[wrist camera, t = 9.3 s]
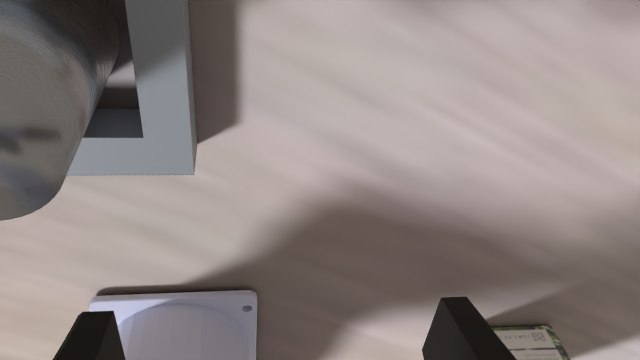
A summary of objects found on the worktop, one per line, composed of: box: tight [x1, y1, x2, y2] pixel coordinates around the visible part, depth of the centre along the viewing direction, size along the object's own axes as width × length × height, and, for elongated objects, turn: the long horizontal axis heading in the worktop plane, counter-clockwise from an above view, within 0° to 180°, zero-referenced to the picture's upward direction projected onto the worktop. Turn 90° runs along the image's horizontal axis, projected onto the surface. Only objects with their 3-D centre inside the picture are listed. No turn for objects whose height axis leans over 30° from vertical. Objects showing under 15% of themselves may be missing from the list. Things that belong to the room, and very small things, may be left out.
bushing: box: [0, 0, 119, 221], centre depth 14 cm, size 4×4×7 cm
